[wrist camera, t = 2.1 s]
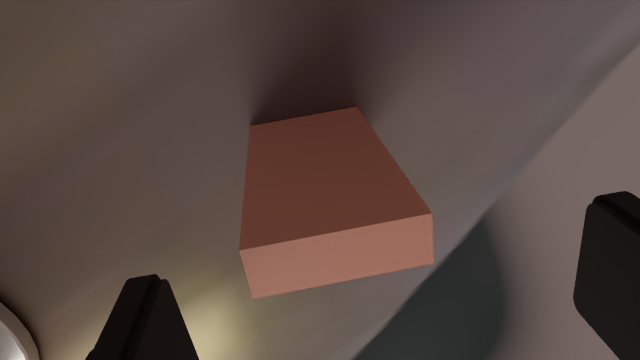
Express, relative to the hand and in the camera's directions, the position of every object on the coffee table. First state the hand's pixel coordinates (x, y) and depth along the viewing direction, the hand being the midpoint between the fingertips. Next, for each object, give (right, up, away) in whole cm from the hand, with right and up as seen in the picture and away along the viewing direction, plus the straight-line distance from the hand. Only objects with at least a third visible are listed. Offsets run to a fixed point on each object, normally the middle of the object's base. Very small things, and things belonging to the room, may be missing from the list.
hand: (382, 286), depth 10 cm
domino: (-2, +5, +11) cm, 12 cm away
